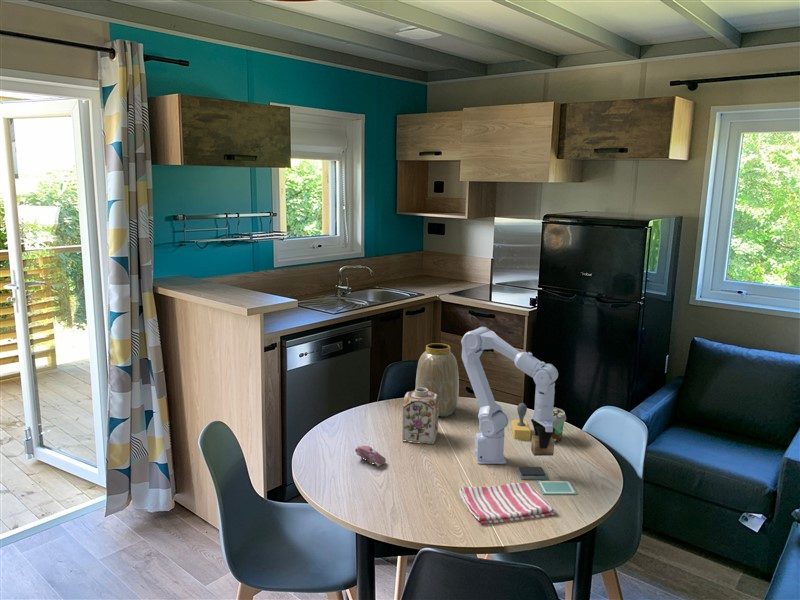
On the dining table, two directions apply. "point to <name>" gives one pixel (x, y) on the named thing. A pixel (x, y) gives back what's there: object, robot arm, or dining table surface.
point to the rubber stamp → (521, 424)
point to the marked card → (556, 488)
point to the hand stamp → (537, 450)
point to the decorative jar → (420, 416)
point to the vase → (439, 376)
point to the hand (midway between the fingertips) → (541, 444)
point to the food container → (558, 424)
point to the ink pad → (531, 473)
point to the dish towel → (505, 503)
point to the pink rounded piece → (369, 454)
